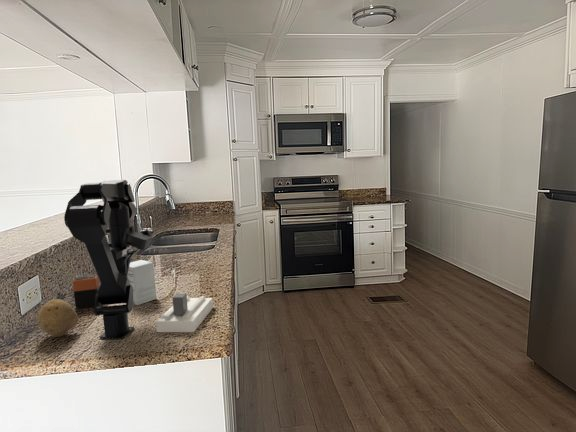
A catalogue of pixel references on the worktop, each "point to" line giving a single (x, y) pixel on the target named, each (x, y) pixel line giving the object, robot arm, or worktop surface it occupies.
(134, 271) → the supplement box
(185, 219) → the worktop surface
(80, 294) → the battery
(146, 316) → the worktop surface
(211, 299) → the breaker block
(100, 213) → the robot arm
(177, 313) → the switch knob
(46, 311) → the tan rounded lump
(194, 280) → the worktop surface
